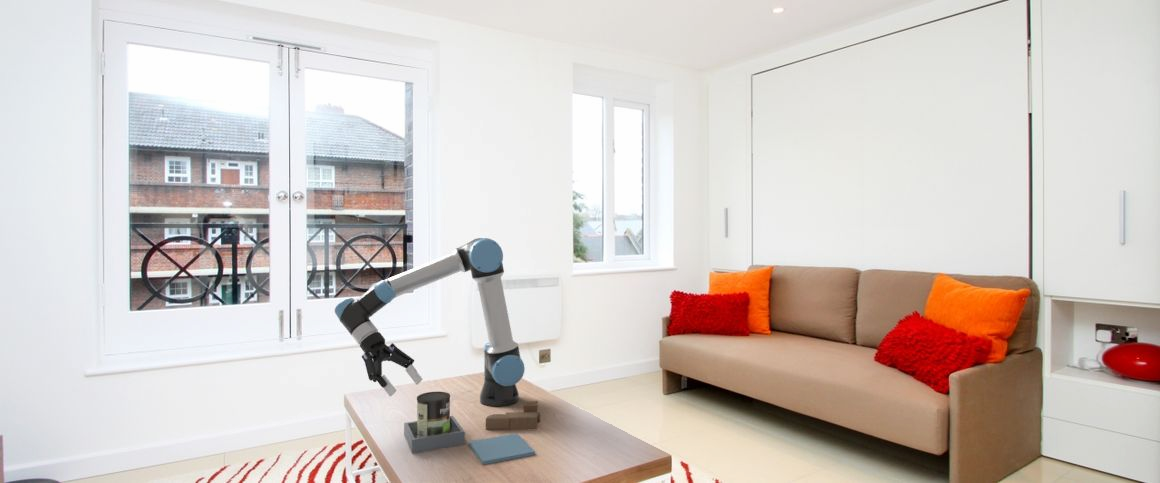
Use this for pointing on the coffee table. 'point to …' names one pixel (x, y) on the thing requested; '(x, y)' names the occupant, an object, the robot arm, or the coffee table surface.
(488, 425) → the wooden block set
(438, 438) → the bin
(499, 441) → the board
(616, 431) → the coffee table surface
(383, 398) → the coffee table surface
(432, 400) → the coffee can
